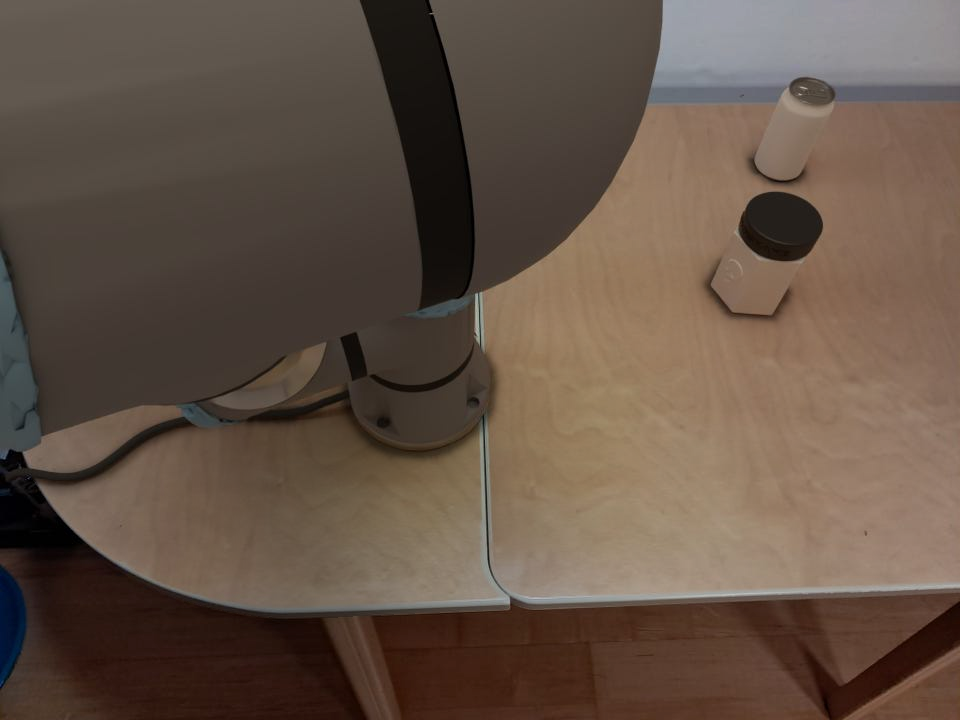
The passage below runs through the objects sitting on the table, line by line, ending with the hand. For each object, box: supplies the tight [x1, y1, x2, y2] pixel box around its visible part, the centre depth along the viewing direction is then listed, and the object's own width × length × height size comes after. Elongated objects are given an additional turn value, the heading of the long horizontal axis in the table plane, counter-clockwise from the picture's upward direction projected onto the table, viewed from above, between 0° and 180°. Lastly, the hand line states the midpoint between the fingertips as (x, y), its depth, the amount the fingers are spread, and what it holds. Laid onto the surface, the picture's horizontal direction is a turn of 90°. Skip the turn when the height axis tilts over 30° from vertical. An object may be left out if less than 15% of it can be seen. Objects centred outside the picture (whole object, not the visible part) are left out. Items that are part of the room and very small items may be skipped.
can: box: [754, 76, 837, 182], centre depth 92 cm, size 6×6×12 cm
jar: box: [710, 190, 824, 316], centre depth 79 cm, size 9×8×12 cm
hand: (151, 28), depth 61 cm, fingers open, 13 cm apart
